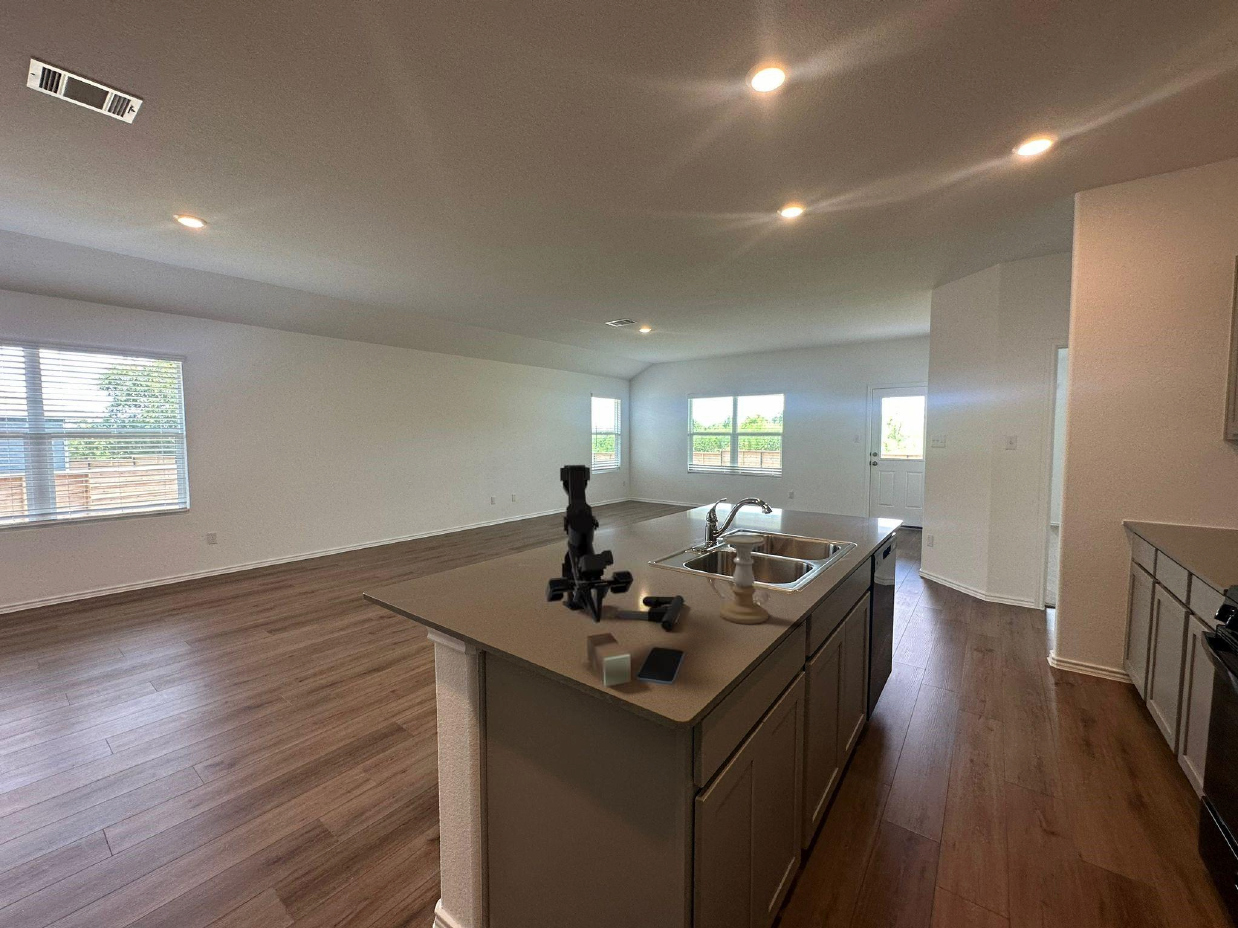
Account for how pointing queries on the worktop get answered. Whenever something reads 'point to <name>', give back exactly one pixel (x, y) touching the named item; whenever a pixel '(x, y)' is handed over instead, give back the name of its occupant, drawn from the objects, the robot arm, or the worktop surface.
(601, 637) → the beige wooden block
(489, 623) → the worktop surface
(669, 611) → the door handle
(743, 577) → the candle holder
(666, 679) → the smartphone
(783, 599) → the worktop surface
